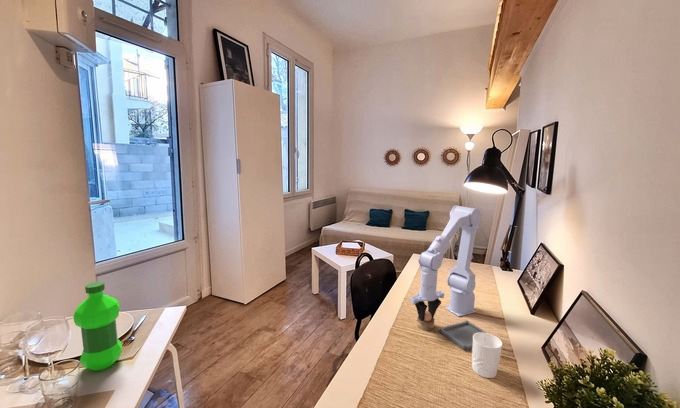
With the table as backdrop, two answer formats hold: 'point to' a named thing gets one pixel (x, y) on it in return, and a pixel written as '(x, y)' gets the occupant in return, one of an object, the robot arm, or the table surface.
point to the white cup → (486, 354)
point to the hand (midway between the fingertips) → (426, 318)
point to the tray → (461, 334)
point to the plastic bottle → (98, 328)
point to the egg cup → (425, 324)
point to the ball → (427, 316)
